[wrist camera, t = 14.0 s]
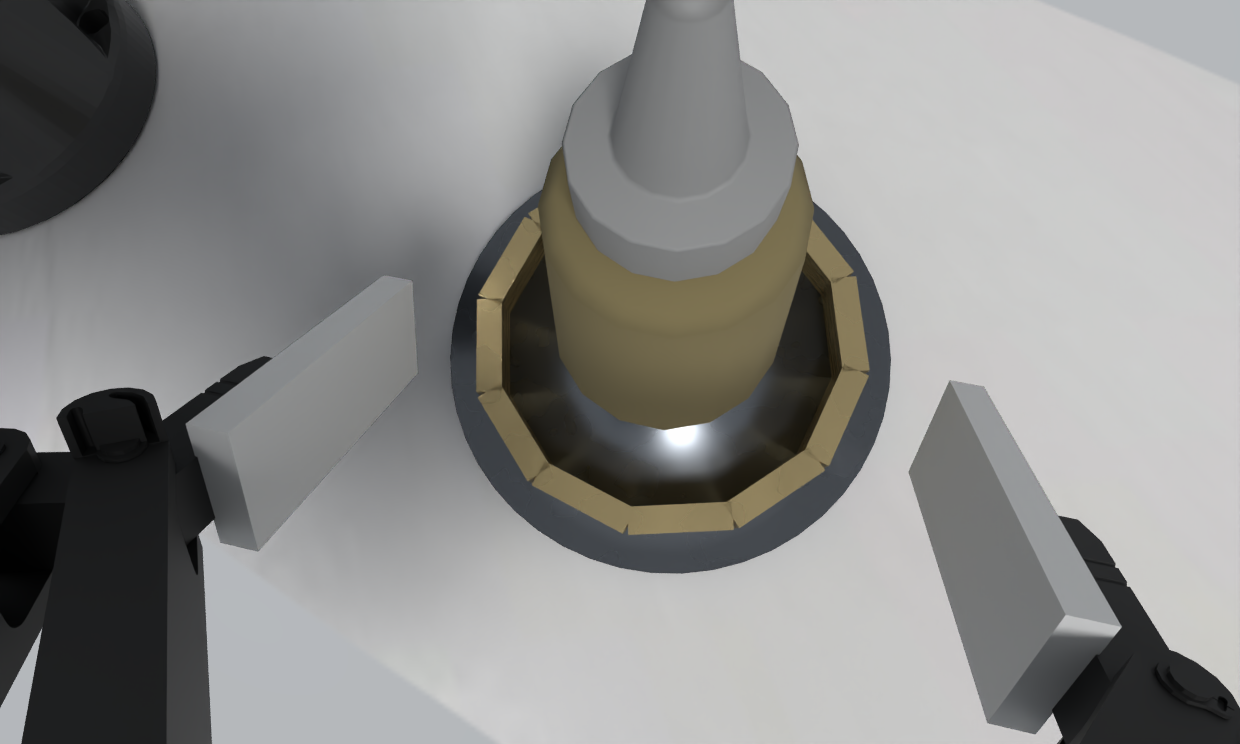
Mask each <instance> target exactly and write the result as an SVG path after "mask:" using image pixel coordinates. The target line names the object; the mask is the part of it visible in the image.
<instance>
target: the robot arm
mask: <svg viewBox="0 0 1240 744" xmlns="http://www.w3.org/2000/svg"><path fill="white" fill-rule="evenodd" d="M155 77H156V65H155V55H154V49H153V45H152V42H151V39H150V36H149V33H148V31H147V29H146V27H145V25H144V23H143V21H142V20H141V18H140V17H139V15H138V14H137V13H136V11H135V10H134V9H133V8H132V7H131V6H130V5H129V4H128V3H127V2H126V1H125V0H0V235H3V234H7V233H11V232H15V231H18V230H21V229H25V228H27V227H30V226H33V225H35V224H38V223H40V222H42V221H44V220H47V219H49V218H50V217H52V216H54V215H56V214H58V213H60V212H62V211H63V210H65V209H67V208H68V207H70V206H71V205H73V204H74V203H76V202H77V201H79V200H80V199H82V198H83V197H84V196H85V195H87V194H88V193H89V192H91V191H92V190H93V189H94V188H95V187H96V186H98V185H99V184H100V183H101V182H102V181H103V180H104V179H105V178H106V177H107V176H108V175H109V174H110V173H111V172H112V171H113V169H114V168H115V167H116V166H117V165H118V164H119V162H120V161H121V160H122V159H123V157H124V156H125V155H126V153H127V152H128V150H129V149H130V148H131V146H132V144H133V143H134V141H135V139H136V138H137V136H138V134H139V132H140V130H141V128H142V126H143V124H144V122H145V119H146V117H147V114H148V111H149V108H150V105H151V101H152V98H153V93H154V87H155ZM417 374H418V366H417V349H416V332H415V316H414V299H413V282H412V280H408V279H402V278H397V277H392V276H386V275H383V276H382V277H380V278H379V279H378V280H376V281H375V282H374V283H372V284H371V285H370V286H368V287H367V288H366V289H364V290H363V291H362V292H360V293H359V294H358V295H356V296H355V297H354V298H352V299H351V300H350V301H348V302H347V303H346V304H344V305H343V306H342V307H340V308H339V309H338V310H336V311H335V312H334V313H332V314H331V315H330V316H328V317H327V318H326V319H324V320H323V321H322V322H320V323H319V324H318V325H316V326H315V327H314V328H312V329H311V330H310V331H308V332H307V333H306V334H304V335H303V336H302V337H300V338H299V339H298V340H296V341H295V342H294V343H292V344H291V345H290V346H288V347H287V348H286V349H284V350H283V351H282V352H280V353H279V354H278V355H277V356H275V357H274V358H270V357H265V356H263V357H260V358H258V359H255V360H253V361H250V362H248V363H245V364H243V365H240V366H238V367H237V368H235V369H234V370H233V371H231V372H230V373H228V374H227V375H226V376H224V377H223V378H221V379H220V382H216V383H214V384H213V385H212V386H210V387H209V388H207V389H206V390H205V393H200V394H199V395H198V396H196V397H195V398H194V399H192V400H191V401H189V402H188V403H187V404H185V405H184V406H182V407H181V408H180V409H178V410H177V411H175V412H174V413H173V414H171V415H170V416H168V417H167V418H166V419H164V420H163V421H162V418H161V415H160V412H159V409H158V406H157V403H156V400H155V398H154V396H153V394H151V393H149V392H147V391H145V390H143V389H135V388H116V389H108V390H103V391H99V392H95V393H91V394H89V395H86V396H84V397H81V398H79V399H77V400H74V401H73V402H72V403H70V404H69V405H67V406H66V407H64V408H63V409H62V410H61V412H60V413H59V415H58V416H57V418H56V419H57V421H58V424H59V426H60V429H61V431H62V433H63V436H64V438H65V440H66V443H67V445H68V447H69V450H70V452H38V453H36V451H35V449H34V447H33V445H32V442H31V440H30V439H29V437H28V435H27V434H26V433H25V432H22V431H20V430H17V429H9V428H0V707H1V705H2V703H3V701H4V699H5V697H6V696H7V693H8V692H9V690H10V688H11V686H12V684H13V682H14V680H15V678H16V677H17V674H18V672H19V671H20V669H21V667H22V665H23V663H24V661H25V659H26V657H27V656H28V653H29V652H30V650H31V648H32V646H33V644H34V642H35V640H36V638H37V636H38V635H39V633H40V631H41V629H42V633H41V639H40V644H39V650H38V655H37V661H36V666H35V672H34V677H33V683H32V688H31V693H30V699H29V704H28V710H27V716H26V721H25V726H24V732H23V737H22V743H21V744H212V740H211V739H212V737H211V716H210V697H209V675H208V654H207V634H206V613H205V591H204V571H203V550H202V545H201V541H200V538H199V535H198V534H199V533H200V532H201V531H202V530H203V529H204V528H205V527H206V526H207V525H209V524H210V523H211V522H212V521H213V520H214V522H215V525H216V529H217V532H218V536H219V539H220V542H221V543H225V544H229V545H233V546H237V547H242V548H246V549H250V550H254V551H259V550H260V549H261V548H262V547H263V546H264V544H265V543H266V542H267V541H268V540H269V539H270V538H271V537H272V536H273V534H274V533H275V532H276V531H277V530H278V529H279V528H280V527H281V525H282V524H283V523H284V522H285V521H286V520H287V519H288V518H289V517H290V515H291V514H292V513H293V512H294V511H295V510H296V509H297V508H298V507H299V505H300V504H301V503H302V502H303V501H304V500H305V499H306V498H307V496H308V495H309V494H310V493H311V492H312V491H313V490H314V489H315V488H316V486H317V485H318V484H319V483H320V482H321V481H322V480H323V479H324V478H325V476H326V475H327V474H328V473H329V472H330V471H331V470H332V469H333V467H334V466H335V465H336V464H337V463H338V462H339V461H340V460H341V459H342V457H343V456H344V455H345V454H346V453H347V452H348V451H349V450H350V449H351V447H352V446H353V445H354V444H355V443H356V442H357V441H358V440H359V438H360V437H361V436H362V435H363V434H364V433H365V432H366V431H367V430H368V428H369V427H370V426H371V425H372V424H373V423H374V422H375V421H376V420H377V418H378V417H379V416H380V415H381V414H382V413H383V412H384V411H385V409H386V408H387V407H388V406H389V405H390V404H391V403H392V402H393V401H394V399H395V398H396V397H397V396H398V395H399V394H400V393H401V392H402V391H403V389H404V388H405V387H406V386H407V385H408V384H409V383H410V382H411V380H412V379H413V378H414V377H415V376H416V375H417ZM909 475H910V478H911V481H912V484H913V487H914V491H915V494H916V497H917V500H918V503H919V507H920V510H921V513H922V516H923V519H924V522H925V526H926V529H927V532H928V535H929V538H930V542H931V545H932V548H933V551H934V554H935V557H936V561H937V564H938V567H939V570H940V573H941V577H942V580H943V583H944V586H945V589H946V593H947V596H948V599H949V602H950V605H951V608H952V612H953V615H954V618H955V621H956V624H957V628H958V631H959V634H960V637H961V640H962V643H963V647H964V650H965V653H966V656H967V659H968V663H969V666H970V669H971V672H972V675H973V678H974V682H975V685H976V688H977V691H978V694H979V698H980V701H981V704H982V707H983V710H984V714H985V717H986V720H987V723H989V724H994V725H998V726H1002V727H1006V728H1011V729H1015V730H1019V731H1023V732H1028V733H1032V734H1036V733H1037V732H1038V731H1039V729H1040V728H1041V727H1042V726H1043V724H1044V723H1045V722H1046V721H1047V719H1048V718H1049V717H1050V716H1051V714H1052V713H1053V714H1054V716H1055V719H1056V721H1057V724H1058V726H1059V729H1060V731H1061V734H1062V736H1063V737H1062V738H1061V740H1060V741H1059V742H1058V743H1057V744H1240V708H1239V706H1238V704H1237V702H1236V700H1235V699H1234V697H1233V695H1232V694H1231V693H1230V691H1229V690H1228V689H1227V688H1226V687H1225V686H1224V685H1223V684H1222V683H1221V682H1220V681H1219V680H1218V679H1217V678H1216V677H1215V676H1214V675H1212V674H1211V673H1210V672H1208V671H1207V670H1206V669H1204V668H1203V667H1202V666H1200V665H1199V664H1198V663H1196V662H1194V661H1192V660H1190V659H1189V658H1187V657H1185V656H1183V655H1181V654H1179V653H1177V652H1174V651H1171V650H1169V648H1168V647H1167V645H1166V644H1165V642H1164V640H1163V639H1162V637H1161V636H1160V634H1159V632H1158V631H1157V629H1156V628H1155V626H1154V625H1153V623H1152V621H1151V620H1150V618H1149V617H1148V615H1147V613H1146V612H1145V610H1144V609H1143V607H1142V605H1141V604H1140V602H1139V601H1138V599H1137V597H1136V596H1135V594H1134V593H1133V591H1132V589H1131V588H1130V587H1127V581H1126V580H1125V578H1124V577H1123V575H1122V573H1121V572H1120V570H1119V569H1118V568H1115V562H1114V561H1113V559H1112V557H1111V556H1110V554H1109V553H1108V551H1107V549H1106V548H1105V546H1104V545H1103V543H1102V542H1101V541H1100V540H1099V539H1098V538H1097V537H1096V536H1095V535H1094V534H1093V533H1092V532H1091V531H1090V530H1089V529H1087V528H1086V527H1085V526H1084V525H1083V524H1082V523H1081V522H1080V521H1079V520H1077V519H1072V518H1067V517H1062V516H1058V515H1057V513H1056V511H1055V510H1054V508H1053V506H1052V504H1051V503H1050V501H1049V499H1048V497H1047V496H1046V494H1045V492H1044V490H1043V489H1042V487H1041V485H1040V483H1039V482H1038V480H1037V478H1036V476H1035V475H1034V473H1033V471H1032V470H1031V468H1030V466H1029V464H1028V463H1027V461H1026V459H1025V457H1024V456H1023V454H1022V452H1021V450H1020V449H1019V447H1018V445H1017V443H1016V442H1015V440H1014V438H1013V436H1012V435H1011V433H1010V431H1009V429H1008V428H1007V426H1006V424H1005V422H1004V421H1003V419H1002V417H1001V415H1000V414H999V412H998V410H997V409H996V407H995V405H994V403H993V402H992V400H991V398H990V396H989V395H988V393H987V391H986V389H985V388H984V387H983V386H978V385H972V384H967V383H962V382H956V381H951V380H950V381H949V383H948V385H947V387H946V390H945V392H944V394H943V396H942V399H941V401H940V403H939V405H938V407H937V410H936V412H935V414H934V416H933V419H932V421H931V423H930V425H929V427H928V430H927V432H926V434H925V436H924V439H923V441H922V443H921V445H920V448H919V450H918V452H917V454H916V456H915V459H914V461H913V463H912V465H911V468H910V470H909ZM42 627H43V628H42Z"/></svg>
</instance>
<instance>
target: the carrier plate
mask: <svg viewBox="0 0 1240 744" xmlns="http://www.w3.org/2000/svg"><path fill="white" fill-rule="evenodd" d="M541 193H542V190H541V191H540V192H538V193H537V194H535V195H534V196H532V197H531V198H530V199H529V200H528V201H527V202H526V203H524V204H523V205H522V206H521V207H520V208H519V209H518V210H516V211H515V212H514V213H513V214H512V215H511V216H510V217H509V218H508V219H507V221H506V222H505V223H504V224H503V225H502V226H501V227H500V228H499V230H498V231H497V232H496V233H495V234H494V236H493V237H492V238H491V240H490V241H489V243H488V244H487V246H486V247H485V249H484V250H483V251H482V253H481V254H480V256H479V258H478V260H477V262H476V264H475V266H474V268H473V269H472V271H471V273H470V275H469V277H468V279H467V282H466V285H465V288H464V290H463V293H462V296H461V299H460V301H459V304H458V309H457V313H456V318H455V322H454V327H453V333H452V344H451V356H450V359H451V380H452V389H453V394H454V399H455V405H456V410H457V414H458V417H459V420H460V423H461V426H462V429H463V432H464V435H465V438H466V440H467V442H468V444H469V446H470V448H471V450H472V452H473V455H474V457H475V459H476V461H477V463H478V465H479V466H480V468H481V469H482V471H483V472H484V473H485V475H486V476H487V478H488V479H489V481H490V482H491V484H492V485H493V487H494V488H495V489H496V491H497V492H498V493H499V494H500V495H501V496H502V497H503V498H504V499H505V501H506V502H507V503H508V504H509V505H510V506H511V507H512V508H513V510H514V511H516V512H517V513H518V514H519V515H520V516H522V517H523V518H524V519H525V520H526V521H527V522H529V523H530V524H531V525H532V526H533V527H534V528H536V529H537V530H538V531H540V532H541V533H543V534H545V535H546V536H548V537H549V538H551V539H552V540H554V541H556V542H557V543H559V544H560V545H562V546H564V547H566V548H568V549H570V550H572V551H575V552H577V553H579V554H581V555H583V556H586V557H588V558H590V559H593V560H596V561H599V562H603V563H606V564H609V565H613V566H616V567H619V568H625V569H631V570H637V571H643V572H650V573H690V572H699V571H708V570H714V569H718V568H722V567H726V566H730V565H734V564H738V563H742V562H745V561H747V560H750V559H752V558H755V557H757V556H759V555H762V554H764V553H767V552H769V551H772V550H773V549H775V548H777V547H779V546H780V545H782V544H784V543H785V542H787V541H789V540H791V539H792V538H794V537H796V536H797V535H799V534H800V533H802V532H803V531H804V530H805V529H807V528H808V527H809V526H810V525H812V524H813V523H814V522H815V521H817V520H818V519H819V518H821V517H822V516H823V515H824V514H825V513H826V512H827V511H828V510H829V509H830V508H831V506H832V505H833V504H834V503H835V502H836V501H837V500H838V499H839V498H840V497H841V496H842V495H843V494H844V492H845V491H846V490H847V488H848V487H849V485H850V484H851V483H852V481H853V480H854V478H855V477H856V476H857V474H858V473H859V471H860V470H861V468H862V466H863V464H864V462H865V460H866V458H867V457H868V455H869V453H870V451H871V449H872V447H873V445H874V443H875V440H876V437H877V434H878V431H879V428H880V426H881V423H882V420H883V417H884V412H885V407H886V402H887V397H888V392H889V384H890V365H891V356H890V344H889V333H888V328H887V323H886V319H885V314H884V310H883V305H882V302H881V300H880V297H879V294H878V292H877V289H876V286H875V284H874V281H873V278H872V277H871V275H870V273H869V271H868V269H867V267H866V265H865V263H864V261H863V260H862V258H861V256H860V254H859V253H858V251H857V250H856V248H855V247H854V246H853V244H852V243H851V241H850V240H849V239H848V237H847V236H846V234H845V233H844V232H843V231H842V230H841V228H840V227H839V226H838V225H837V224H836V223H835V222H834V221H833V220H832V219H831V218H830V217H829V215H828V214H827V213H826V212H825V211H823V210H822V209H821V208H820V207H819V206H818V205H816V204H815V203H814V202H813V201H812V202H813V205H814V214H813V219H812V225H811V230H810V236H809V241H808V246H807V252H806V257H805V261H804V264H803V267H802V271H801V274H800V277H799V280H798V284H797V287H796V290H795V293H794V297H793V300H792V303H791V306H790V310H789V313H788V316H787V319H786V323H785V326H784V329H783V332H782V336H781V339H780V342H779V345H778V349H777V352H776V355H775V358H774V362H773V363H772V365H771V366H770V368H769V369H768V371H767V372H766V374H765V375H764V376H763V378H762V379H761V381H760V382H759V384H758V385H757V387H756V388H755V390H754V391H753V392H752V394H751V395H750V397H749V398H748V399H747V400H745V401H744V402H742V403H740V404H739V405H737V406H736V407H734V408H732V409H731V410H729V411H728V412H726V413H724V414H723V415H721V416H720V417H718V418H716V419H715V420H713V421H712V422H710V423H705V424H699V425H693V426H687V427H681V428H675V429H669V430H661V429H656V428H652V427H647V426H643V425H639V424H634V423H630V422H625V421H621V420H618V419H617V418H616V417H614V416H613V415H611V414H610V413H608V412H607V411H606V410H604V409H603V408H601V407H600V406H599V405H597V404H596V403H594V402H593V401H592V400H590V399H589V398H587V397H586V396H584V395H583V394H582V392H581V391H580V389H579V388H578V386H577V384H576V383H575V381H574V380H573V378H572V376H571V375H570V373H569V371H568V370H567V368H566V367H565V365H564V363H563V362H562V360H561V358H560V356H559V349H558V342H557V335H556V328H555V322H554V315H553V308H552V301H551V294H550V287H549V280H548V274H547V267H546V260H545V253H544V246H543V239H542V232H541V225H540V218H539V211H538V203H539V200H540V196H541Z"/></svg>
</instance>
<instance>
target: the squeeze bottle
mask: <svg viewBox="0 0 1240 744" xmlns="http://www.w3.org/2000/svg"><path fill="white" fill-rule="evenodd" d="M798 146H799V144H798V140H797V136H796V132H795V128H794V125H793V121H792V117H791V113H790V109H789V105H788V104H787V103H786V101H785V100H784V99H783V98H782V96H781V95H780V94H779V93H778V91H777V90H776V89H775V88H774V86H773V85H772V84H771V83H770V81H769V80H768V79H767V78H766V77H765V75H764V74H763V73H762V72H761V71H759V70H757V69H755V68H754V67H752V66H750V65H748V64H746V63H745V62H743V61H741V60H740V53H739V44H738V35H737V26H736V17H735V9H734V0H646V3H645V6H644V10H643V14H642V18H641V22H640V26H639V30H638V34H637V37H636V41H635V45H634V49H633V53H632V54H631V55H630V56H628V57H626V58H624V59H623V60H621V61H619V62H617V63H615V64H614V65H612V66H610V67H608V68H606V69H605V70H603V71H601V72H599V74H598V75H597V76H596V77H595V78H594V80H593V81H592V82H591V83H590V85H589V86H588V87H587V88H586V89H585V91H584V92H583V93H582V94H581V95H580V97H579V98H578V99H577V100H576V102H575V103H574V104H573V106H572V110H571V113H570V117H569V120H568V124H567V127H566V131H565V134H564V137H563V141H562V147H561V148H560V149H559V151H558V152H557V153H556V154H555V156H554V157H553V158H552V159H551V162H550V166H549V169H548V172H547V176H546V179H545V183H544V186H543V190H542V193H541V196H540V200H539V203H538V211H539V218H540V225H541V232H542V239H543V246H544V253H545V260H546V267H547V274H548V280H549V287H550V294H551V301H552V308H553V315H554V322H555V328H556V335H557V342H558V349H559V356H560V358H561V360H562V362H563V363H564V365H565V367H566V368H567V370H568V371H569V373H570V375H571V376H572V378H573V380H574V381H575V383H576V384H577V386H578V388H579V389H580V391H581V392H582V394H583V395H584V396H586V397H587V398H589V399H590V400H592V401H593V402H594V403H596V404H597V405H599V406H600V407H601V408H603V409H604V410H606V411H607V412H608V413H610V414H611V415H613V416H614V417H616V418H617V419H618V420H621V421H625V422H630V423H634V424H639V425H643V426H647V427H652V428H656V429H661V430H669V429H675V428H681V427H687V426H693V425H699V424H705V423H710V422H712V421H713V420H715V419H716V418H718V417H720V416H721V415H723V414H724V413H726V412H728V411H729V410H731V409H732V408H734V407H736V406H737V405H739V404H740V403H742V402H744V401H745V400H747V399H748V398H749V397H750V395H751V394H752V392H753V391H754V390H755V388H756V387H757V385H758V384H759V382H760V381H761V379H762V378H763V376H764V375H765V374H766V372H767V371H768V369H769V368H770V366H771V365H772V363H773V362H774V358H775V355H776V352H777V349H778V345H779V342H780V339H781V336H782V332H783V329H784V326H785V323H786V319H787V316H788V313H789V310H790V306H791V303H792V300H793V297H794V293H795V290H796V287H797V284H798V280H799V277H800V274H801V271H802V267H803V264H804V261H805V257H806V252H807V246H808V241H809V236H810V230H811V225H812V219H813V214H814V205H813V202H812V198H811V194H810V190H809V186H808V182H807V179H806V175H805V171H804V167H803V163H802V161H801V159H800V158H799V157H798V155H797V151H798Z"/></svg>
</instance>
